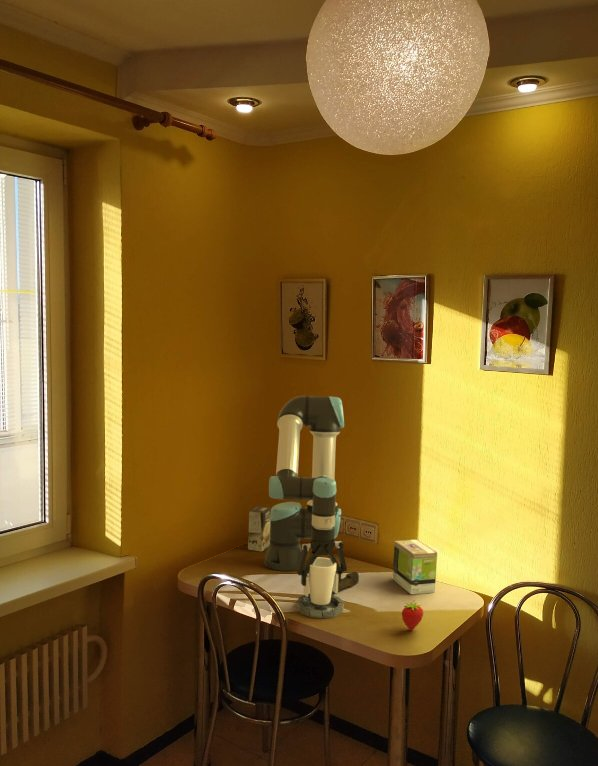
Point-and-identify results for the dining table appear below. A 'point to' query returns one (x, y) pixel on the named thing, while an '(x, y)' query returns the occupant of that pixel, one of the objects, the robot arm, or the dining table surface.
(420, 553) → the tea box
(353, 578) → the hand tool
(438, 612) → the dining table surface
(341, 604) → the grey shallow round dish
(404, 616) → the strawberry
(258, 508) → the coffee box
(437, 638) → the dining table surface
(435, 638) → the dining table surface
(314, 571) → the foam cup
